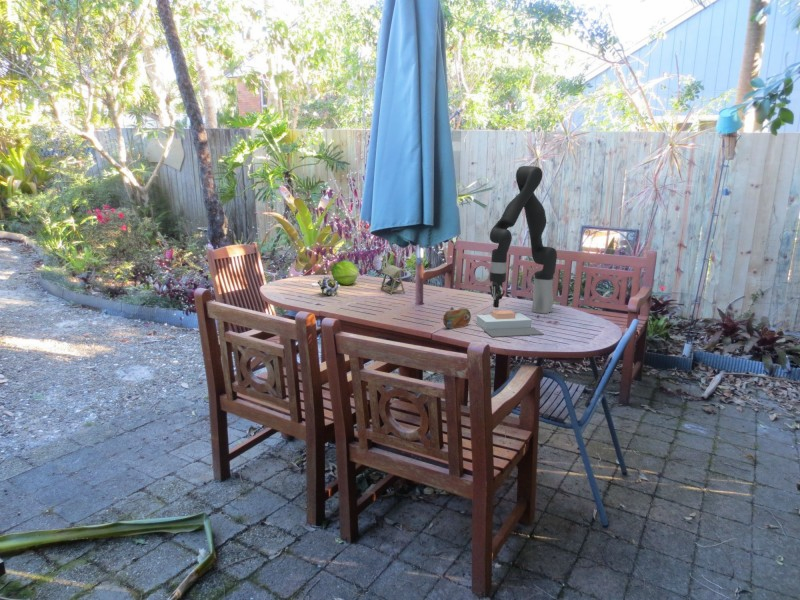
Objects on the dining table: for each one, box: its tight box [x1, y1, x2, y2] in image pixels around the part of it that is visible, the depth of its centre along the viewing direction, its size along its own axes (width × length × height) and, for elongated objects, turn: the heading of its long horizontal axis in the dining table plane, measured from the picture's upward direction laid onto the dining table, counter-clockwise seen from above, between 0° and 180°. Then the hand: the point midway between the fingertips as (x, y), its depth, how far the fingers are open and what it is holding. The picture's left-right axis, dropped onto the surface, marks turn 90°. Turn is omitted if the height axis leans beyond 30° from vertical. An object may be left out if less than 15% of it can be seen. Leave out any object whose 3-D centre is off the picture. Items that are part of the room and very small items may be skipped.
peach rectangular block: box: [491, 309, 515, 319], centre depth 248 cm, size 9×6×2 cm, turn 102°
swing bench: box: [380, 264, 407, 296], centre depth 315 cm, size 15×10×15 cm, turn 27°
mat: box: [483, 327, 545, 339], centre depth 238 cm, size 24×10×1 cm, turn 102°
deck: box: [475, 312, 532, 331], centre depth 249 cm, size 22×12×4 cm, turn 102°
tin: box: [442, 307, 472, 330], centre depth 245 cm, size 15×3×8 cm, turn 126°
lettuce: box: [331, 260, 360, 286], centre depth 334 cm, size 15×23×16 cm
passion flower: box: [317, 275, 341, 297], centre depth 306 cm, size 13×12×14 cm
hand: (495, 307), depth 256 cm, fingers closed
